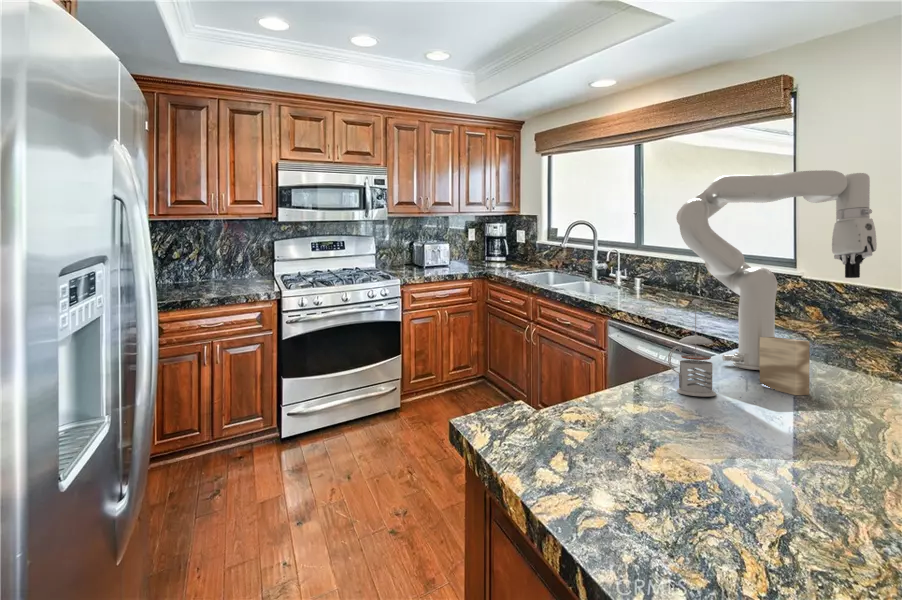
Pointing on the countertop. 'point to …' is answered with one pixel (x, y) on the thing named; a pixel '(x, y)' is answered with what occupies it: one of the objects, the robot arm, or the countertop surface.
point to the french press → (688, 385)
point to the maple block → (785, 364)
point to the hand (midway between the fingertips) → (852, 277)
